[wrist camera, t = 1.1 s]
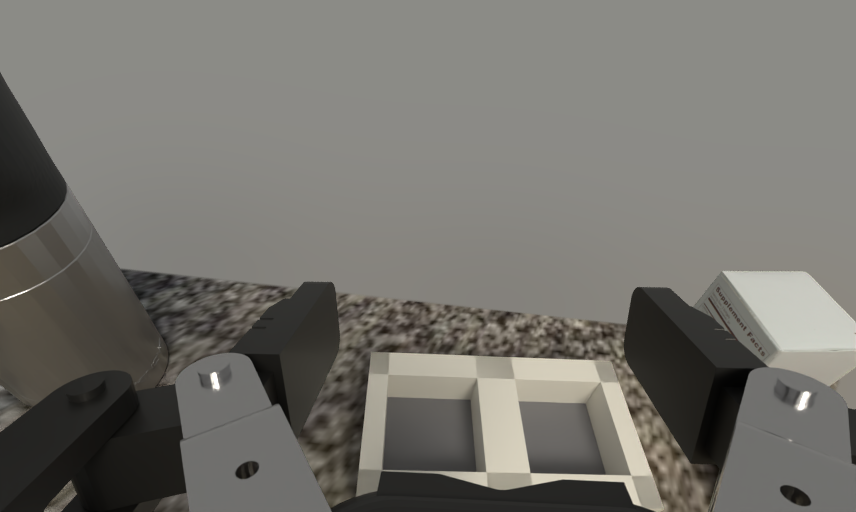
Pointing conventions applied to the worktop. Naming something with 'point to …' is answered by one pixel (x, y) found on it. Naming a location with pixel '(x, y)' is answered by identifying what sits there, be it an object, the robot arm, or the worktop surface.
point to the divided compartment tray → (501, 423)
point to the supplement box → (784, 321)
